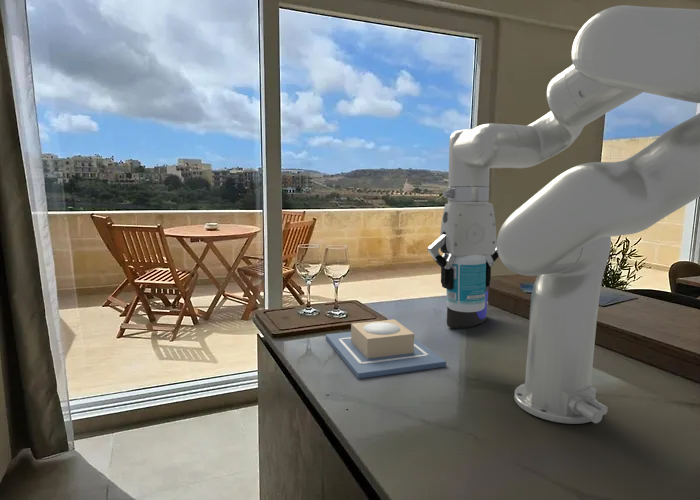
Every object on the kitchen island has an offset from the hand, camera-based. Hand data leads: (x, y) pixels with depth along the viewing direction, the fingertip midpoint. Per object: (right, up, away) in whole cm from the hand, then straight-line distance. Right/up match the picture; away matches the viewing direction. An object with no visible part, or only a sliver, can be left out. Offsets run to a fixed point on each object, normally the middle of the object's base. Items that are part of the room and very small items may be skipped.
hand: (465, 286), depth 92 cm
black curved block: (+7, -11, +26) cm, 29 cm away
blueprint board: (-16, -14, +6) cm, 22 cm away
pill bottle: (0, -5, +1) cm, 5 cm away
